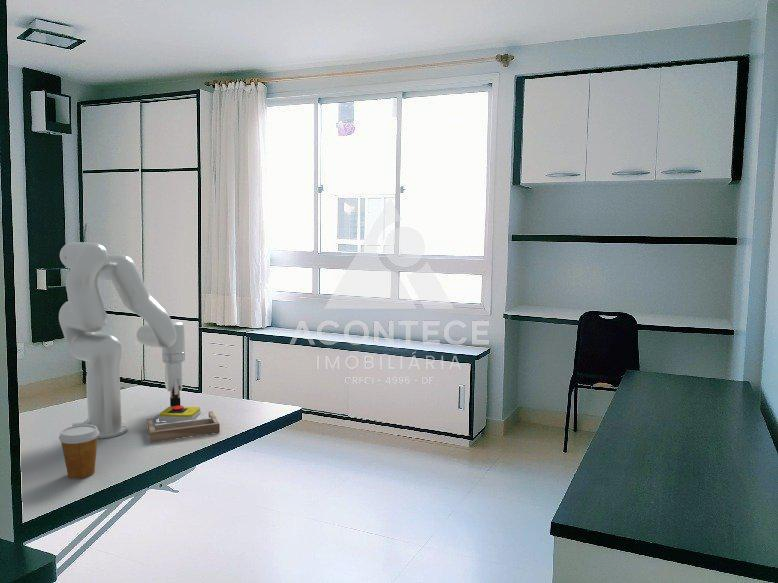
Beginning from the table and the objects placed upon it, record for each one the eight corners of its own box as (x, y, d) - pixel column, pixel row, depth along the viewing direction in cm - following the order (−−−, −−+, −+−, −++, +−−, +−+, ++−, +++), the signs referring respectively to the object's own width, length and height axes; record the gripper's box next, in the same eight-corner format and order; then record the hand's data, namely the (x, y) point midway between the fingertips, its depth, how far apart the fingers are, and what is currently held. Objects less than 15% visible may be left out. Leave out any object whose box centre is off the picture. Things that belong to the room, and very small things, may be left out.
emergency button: (165, 402, 214) (207, 403, 213) (165, 415, 214) (207, 416, 213) (153, 410, 204) (197, 411, 203) (153, 423, 205) (197, 424, 204)
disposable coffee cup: (73, 466, 167) (71, 423, 166) (107, 467, 167) (105, 424, 165) (53, 481, 158) (50, 435, 156) (89, 481, 157) (87, 436, 156)
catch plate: (154, 433, 193) (154, 424, 192) (210, 426, 200) (210, 417, 199) (155, 434, 191) (154, 425, 191) (211, 427, 199) (211, 418, 198)
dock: (147, 428, 199) (147, 419, 198) (212, 419, 207) (212, 411, 207) (150, 442, 186) (150, 432, 186) (219, 432, 194) (219, 423, 194)
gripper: (160, 353, 220) (162, 403, 222) (164, 362, 206) (166, 415, 208) (182, 352, 223) (183, 401, 225) (187, 360, 210) (189, 412, 212)
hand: (175, 408), depth 217 cm, fingers closed
